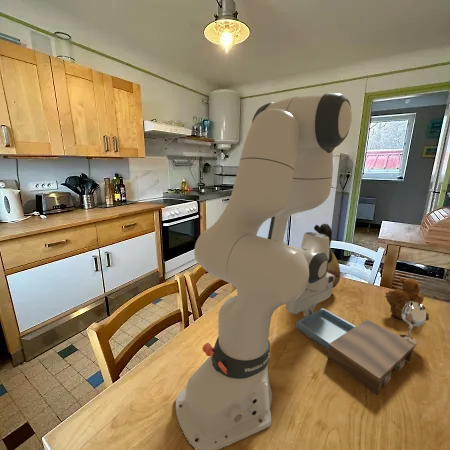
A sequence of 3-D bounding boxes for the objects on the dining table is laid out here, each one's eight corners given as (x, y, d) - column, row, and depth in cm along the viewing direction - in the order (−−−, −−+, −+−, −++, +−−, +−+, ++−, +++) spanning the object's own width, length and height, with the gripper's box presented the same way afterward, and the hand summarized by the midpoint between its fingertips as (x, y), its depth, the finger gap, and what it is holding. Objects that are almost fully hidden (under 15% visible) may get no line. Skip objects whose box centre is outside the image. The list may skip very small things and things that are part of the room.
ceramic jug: (296, 280, 112) (301, 217, 105) (329, 281, 112) (337, 218, 104) (306, 300, 96) (314, 227, 88) (346, 301, 95) (356, 228, 88)
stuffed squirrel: (430, 317, 86) (439, 283, 83) (405, 327, 81) (413, 291, 77) (401, 302, 95) (408, 272, 91) (377, 310, 89) (383, 278, 86)
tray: (348, 364, 65) (350, 357, 64) (296, 328, 80) (296, 321, 79) (374, 344, 73) (375, 337, 72) (322, 314, 87) (322, 307, 87)
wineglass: (423, 348, 71) (432, 312, 68) (401, 345, 72) (409, 310, 69) (413, 334, 77) (420, 301, 74) (393, 332, 78) (400, 299, 75)
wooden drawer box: (376, 395, 56) (379, 378, 55) (326, 359, 67) (328, 343, 66) (412, 359, 67) (415, 344, 66) (364, 332, 78) (367, 319, 76)
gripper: (298, 292, 72) (295, 331, 75) (337, 275, 83) (333, 310, 87) (282, 283, 77) (280, 321, 81) (321, 268, 88) (318, 302, 92)
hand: (307, 315), depth 84 cm, fingers closed, pressing on tray
